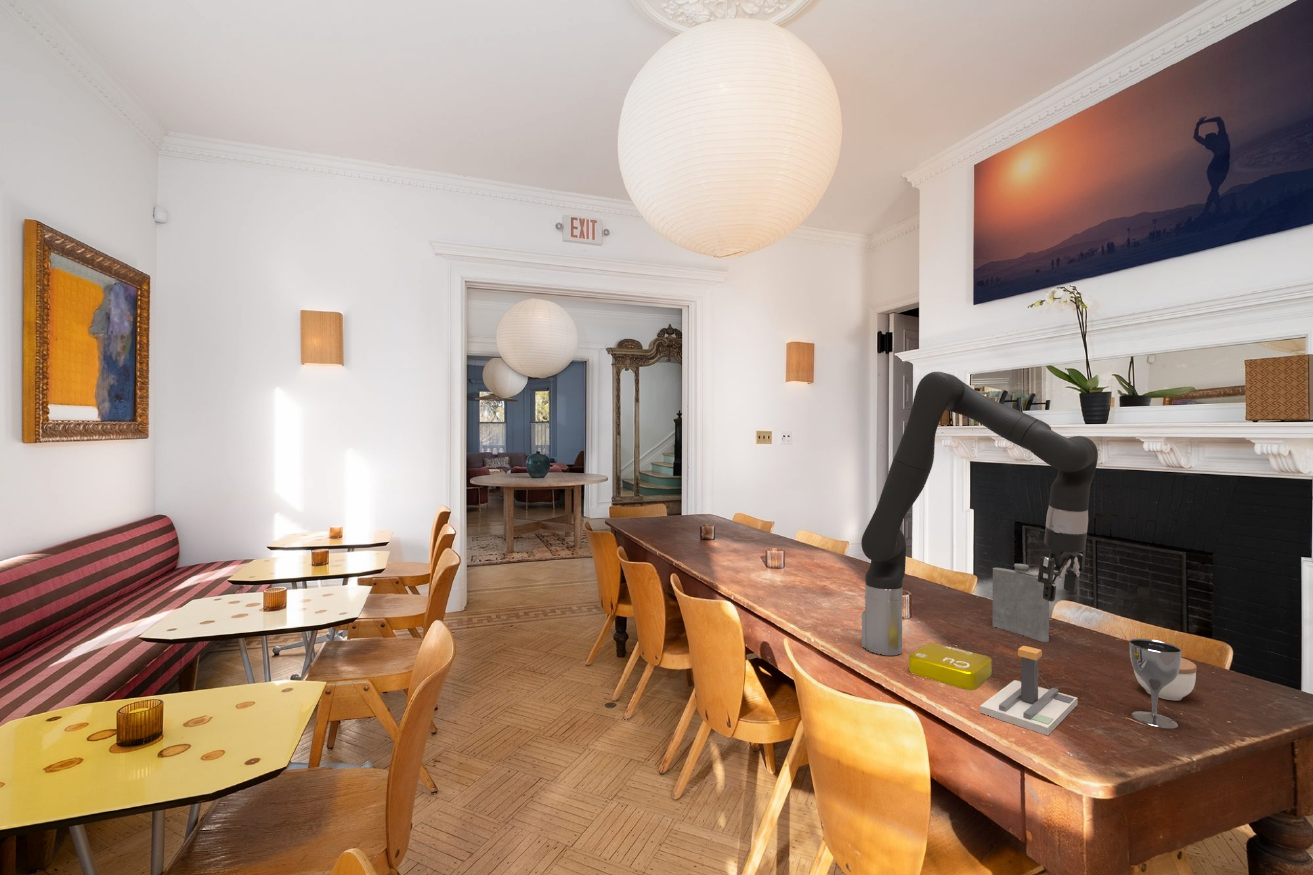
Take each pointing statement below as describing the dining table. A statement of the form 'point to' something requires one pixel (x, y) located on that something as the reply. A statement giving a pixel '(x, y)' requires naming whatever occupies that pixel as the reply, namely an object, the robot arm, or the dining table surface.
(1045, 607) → the hip flask
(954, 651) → the element tile
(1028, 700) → the lever
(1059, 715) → the switch panel
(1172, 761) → the dining table surface
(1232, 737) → the dining table surface
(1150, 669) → the wine glass
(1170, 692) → the lidded jar
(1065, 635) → the dining table surface
